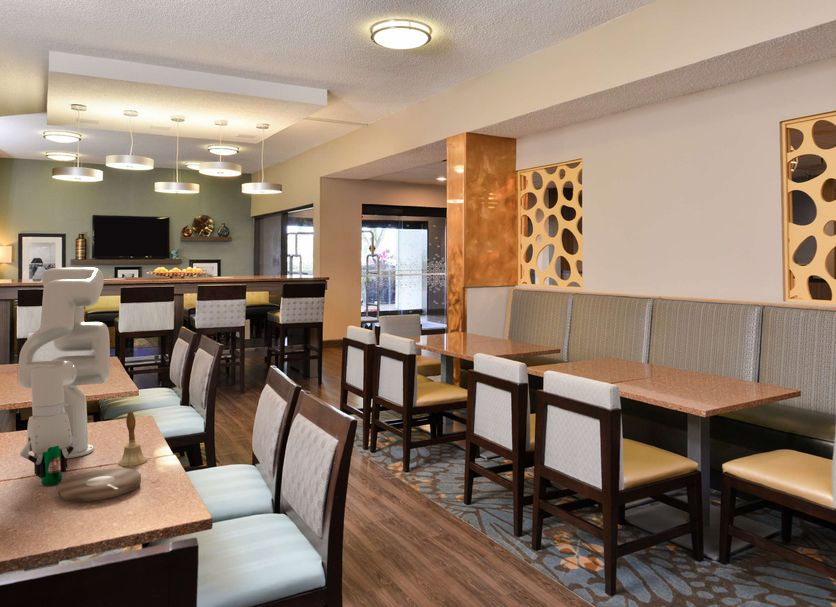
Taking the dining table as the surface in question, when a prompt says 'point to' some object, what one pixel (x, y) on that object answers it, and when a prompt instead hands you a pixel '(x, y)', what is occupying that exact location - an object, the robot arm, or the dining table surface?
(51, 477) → the soda can
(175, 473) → the dining table surface
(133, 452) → the hand bell
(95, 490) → the turntable
